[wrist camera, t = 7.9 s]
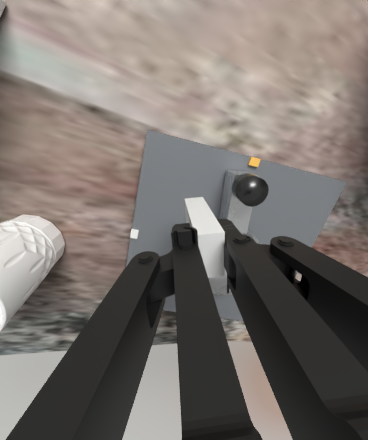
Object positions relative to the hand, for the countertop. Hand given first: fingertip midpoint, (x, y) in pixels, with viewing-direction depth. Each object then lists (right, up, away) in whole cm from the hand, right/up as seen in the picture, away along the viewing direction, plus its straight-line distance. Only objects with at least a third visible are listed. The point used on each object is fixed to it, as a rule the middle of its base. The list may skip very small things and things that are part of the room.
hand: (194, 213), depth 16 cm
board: (+4, -4, +9) cm, 10 cm away
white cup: (-19, -3, +7) cm, 20 cm away
